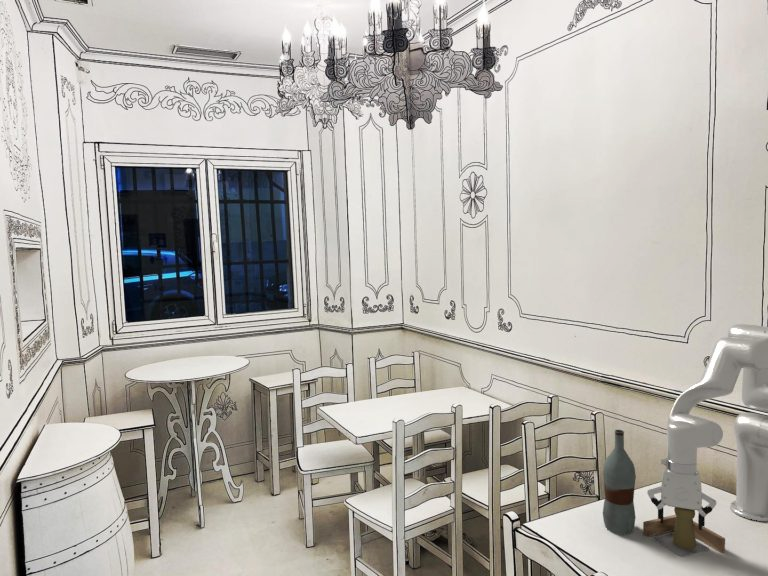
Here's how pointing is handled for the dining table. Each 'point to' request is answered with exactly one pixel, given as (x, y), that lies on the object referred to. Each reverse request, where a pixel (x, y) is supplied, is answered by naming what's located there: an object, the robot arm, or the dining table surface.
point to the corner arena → (668, 525)
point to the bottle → (619, 489)
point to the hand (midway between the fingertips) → (680, 524)
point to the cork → (684, 528)
